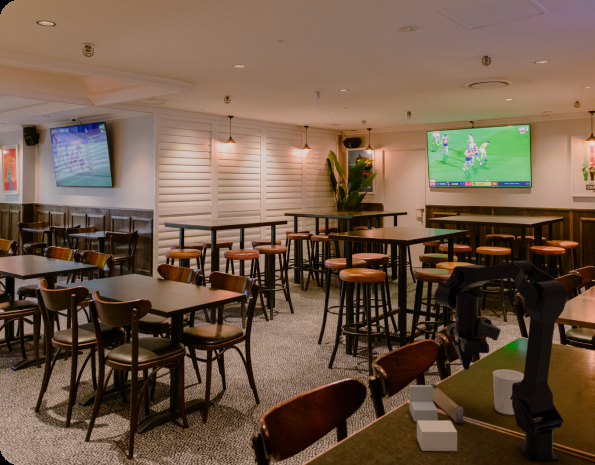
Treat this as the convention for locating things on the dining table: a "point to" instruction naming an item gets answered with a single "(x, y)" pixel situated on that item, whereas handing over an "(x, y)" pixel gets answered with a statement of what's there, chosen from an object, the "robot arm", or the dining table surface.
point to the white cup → (505, 389)
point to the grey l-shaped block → (422, 403)
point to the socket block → (436, 435)
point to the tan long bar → (447, 404)
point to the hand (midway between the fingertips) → (466, 369)
